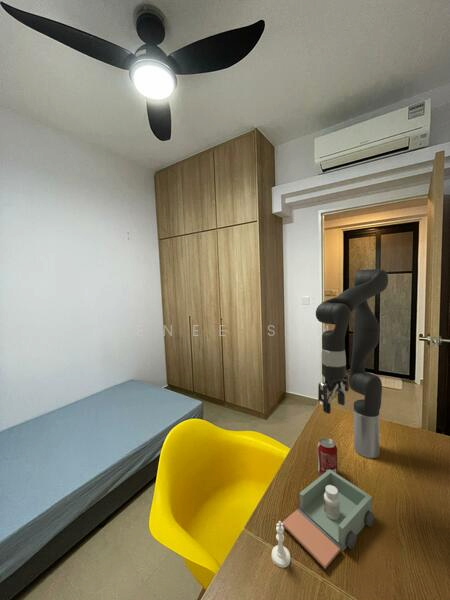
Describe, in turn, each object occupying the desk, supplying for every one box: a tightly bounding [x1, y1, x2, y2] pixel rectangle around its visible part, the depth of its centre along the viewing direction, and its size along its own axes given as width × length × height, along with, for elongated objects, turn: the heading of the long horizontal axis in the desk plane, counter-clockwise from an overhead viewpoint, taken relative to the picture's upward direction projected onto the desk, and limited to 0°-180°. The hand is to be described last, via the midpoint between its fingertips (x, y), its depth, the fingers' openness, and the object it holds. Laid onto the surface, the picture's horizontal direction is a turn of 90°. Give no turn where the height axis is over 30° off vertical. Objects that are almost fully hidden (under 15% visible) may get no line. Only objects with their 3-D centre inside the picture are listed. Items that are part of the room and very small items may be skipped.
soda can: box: [317, 437, 338, 476], centre depth 92 cm, size 7×7×12 cm
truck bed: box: [298, 469, 375, 552], centre depth 76 cm, size 16×16×6 cm
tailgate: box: [281, 508, 342, 570], centre depth 69 cm, size 1×14×7 cm
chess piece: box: [271, 520, 291, 568], centre depth 65 cm, size 5×5×10 cm
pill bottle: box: [324, 485, 340, 520], centre depth 75 cm, size 4×4×8 cm
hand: (334, 408), depth 84 cm, fingers open, 8 cm apart
